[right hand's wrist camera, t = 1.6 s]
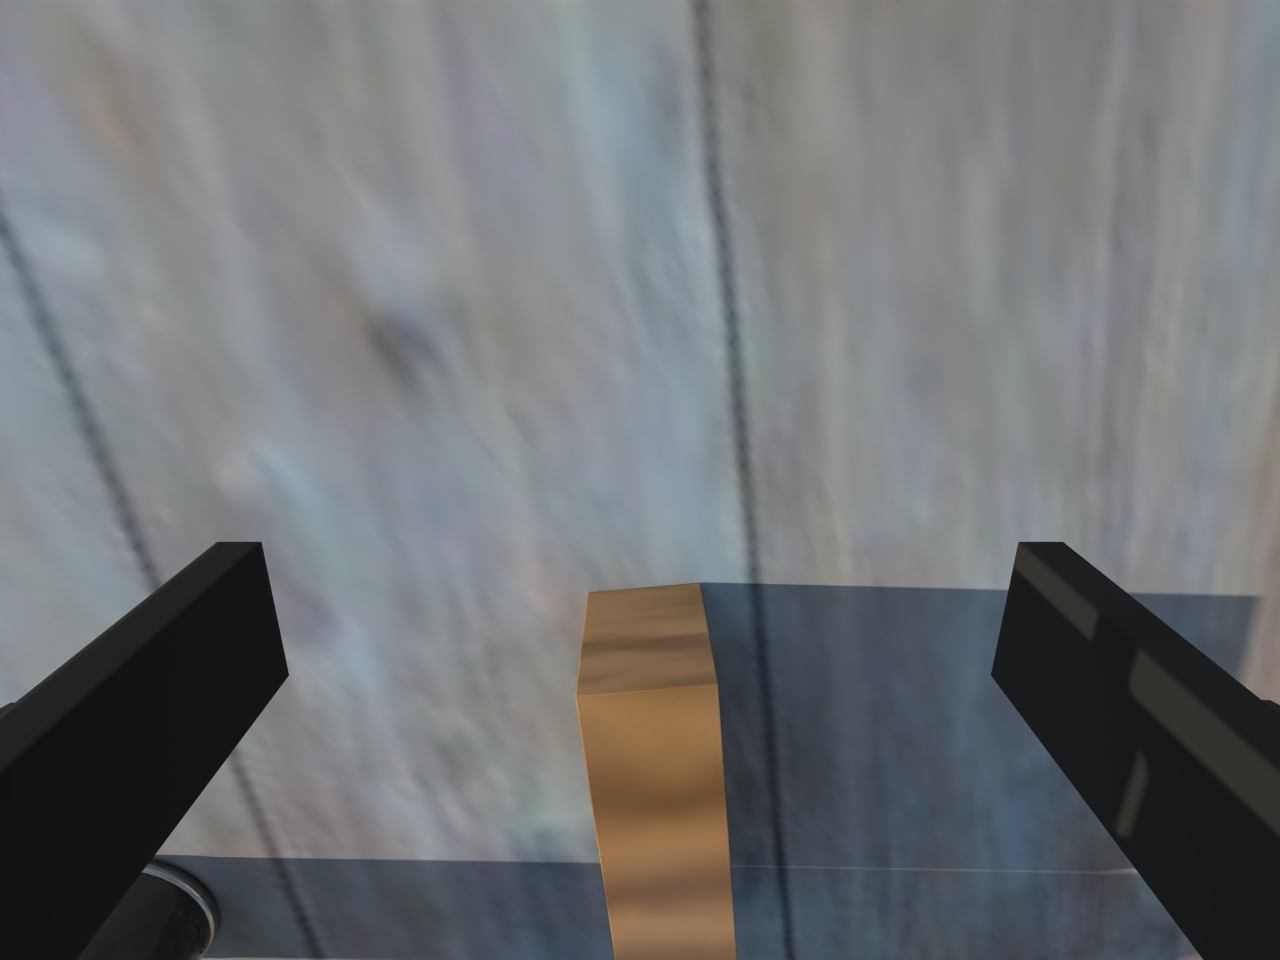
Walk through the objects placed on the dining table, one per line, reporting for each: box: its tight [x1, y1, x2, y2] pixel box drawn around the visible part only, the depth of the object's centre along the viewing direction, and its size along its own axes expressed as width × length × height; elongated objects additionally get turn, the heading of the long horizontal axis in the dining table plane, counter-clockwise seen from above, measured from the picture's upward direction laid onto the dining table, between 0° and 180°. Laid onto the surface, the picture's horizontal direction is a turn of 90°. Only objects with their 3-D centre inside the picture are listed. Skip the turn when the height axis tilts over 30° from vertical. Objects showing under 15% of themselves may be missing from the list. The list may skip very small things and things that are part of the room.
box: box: [576, 583, 737, 960], centre depth 39 cm, size 20×6×9 cm, turn 5°
